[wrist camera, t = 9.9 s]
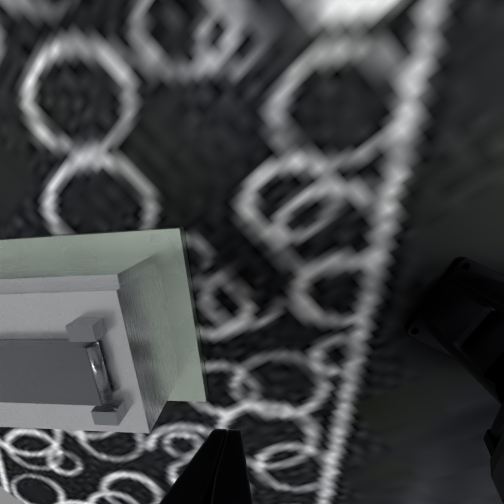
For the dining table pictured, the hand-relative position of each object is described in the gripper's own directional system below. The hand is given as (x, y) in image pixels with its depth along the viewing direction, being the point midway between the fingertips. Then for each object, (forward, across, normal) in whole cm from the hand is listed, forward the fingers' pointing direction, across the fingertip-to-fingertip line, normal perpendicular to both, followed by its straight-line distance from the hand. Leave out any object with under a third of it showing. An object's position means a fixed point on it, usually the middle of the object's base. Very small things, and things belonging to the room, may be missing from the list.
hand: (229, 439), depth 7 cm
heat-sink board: (+12, +15, +3) cm, 20 cm away
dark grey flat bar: (+6, +16, +3) cm, 17 cm away
